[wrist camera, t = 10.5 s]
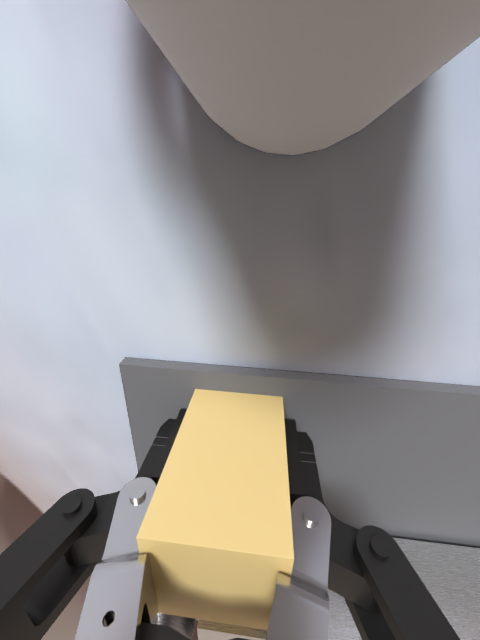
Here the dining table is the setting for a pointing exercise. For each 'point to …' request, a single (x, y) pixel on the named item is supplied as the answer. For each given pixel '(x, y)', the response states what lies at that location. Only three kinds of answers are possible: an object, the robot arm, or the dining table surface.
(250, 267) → the dining table surface
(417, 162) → the dining table surface
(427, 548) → the bar
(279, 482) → the block
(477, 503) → the mat
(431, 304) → the dining table surface
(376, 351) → the dining table surface
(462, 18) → the cup
